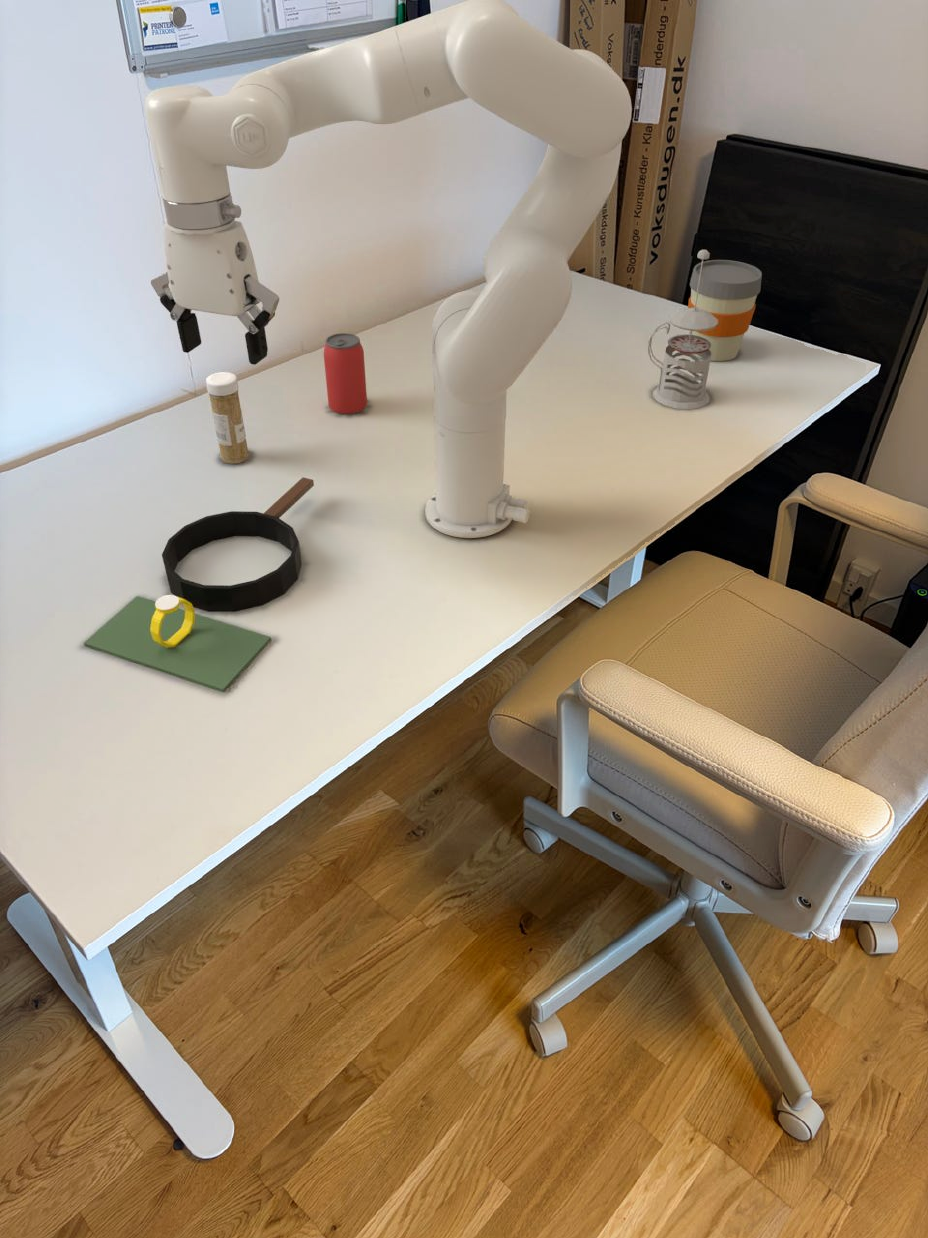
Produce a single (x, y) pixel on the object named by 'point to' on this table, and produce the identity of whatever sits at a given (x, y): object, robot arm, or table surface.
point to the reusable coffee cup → (725, 303)
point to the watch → (165, 607)
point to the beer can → (345, 374)
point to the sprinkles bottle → (227, 417)
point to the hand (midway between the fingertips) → (225, 354)
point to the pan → (231, 526)
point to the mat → (180, 645)
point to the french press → (680, 385)
